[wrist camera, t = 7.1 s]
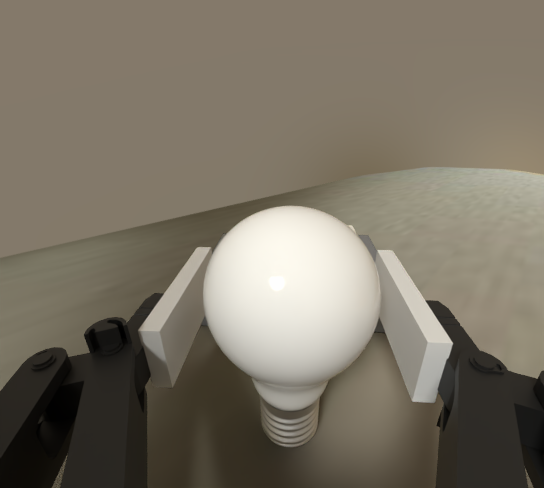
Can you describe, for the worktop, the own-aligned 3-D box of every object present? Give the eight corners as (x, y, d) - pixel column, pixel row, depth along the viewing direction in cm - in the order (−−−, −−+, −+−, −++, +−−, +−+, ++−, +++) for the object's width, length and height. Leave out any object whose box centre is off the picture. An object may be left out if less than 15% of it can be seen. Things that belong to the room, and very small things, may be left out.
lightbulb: (346, 376, 17) (368, 186, 12) (371, 514, 11) (431, 256, 7) (236, 371, 17) (218, 186, 13) (207, 501, 12) (155, 251, 7)
